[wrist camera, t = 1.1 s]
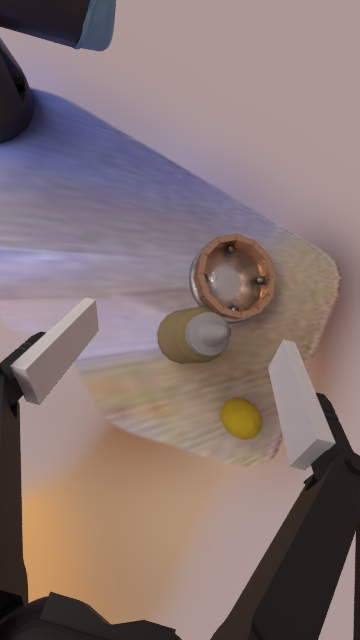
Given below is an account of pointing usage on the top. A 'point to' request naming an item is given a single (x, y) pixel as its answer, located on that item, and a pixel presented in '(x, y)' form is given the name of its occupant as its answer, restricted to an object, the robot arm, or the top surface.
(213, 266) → the flange seat
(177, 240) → the top surface
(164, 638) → the robot arm
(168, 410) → the top surface
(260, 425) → the lemon
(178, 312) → the squeeze bottle
